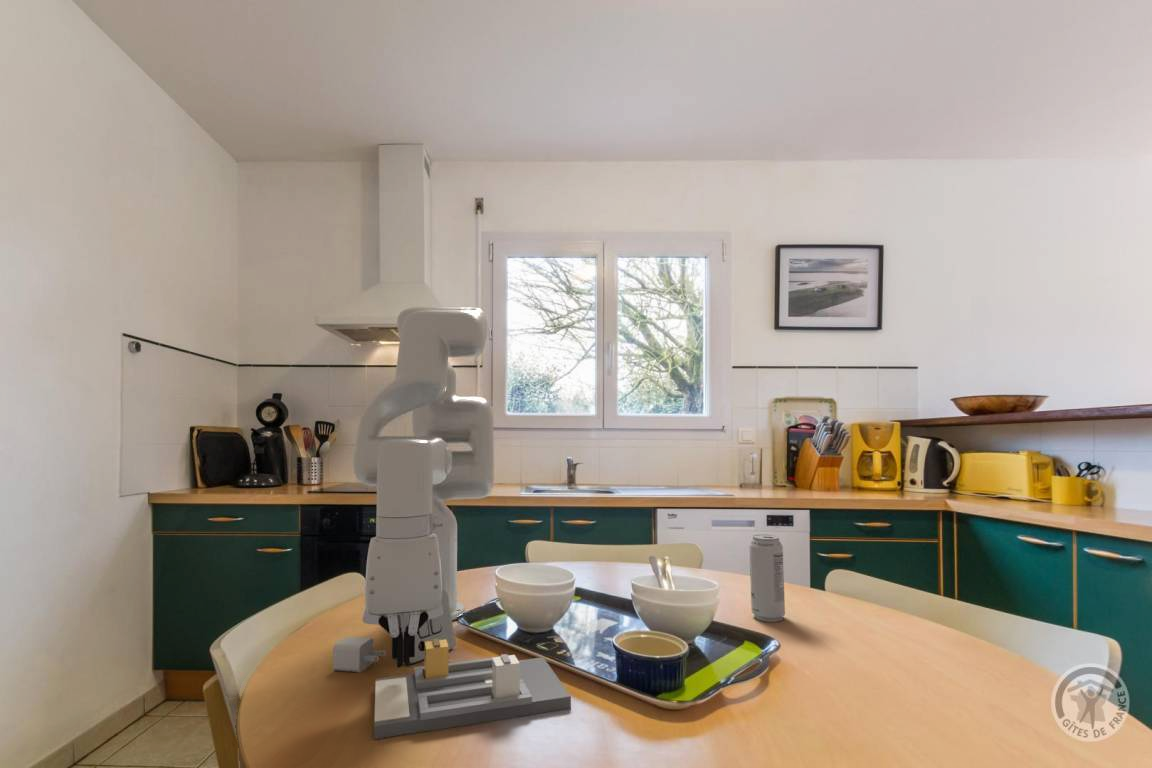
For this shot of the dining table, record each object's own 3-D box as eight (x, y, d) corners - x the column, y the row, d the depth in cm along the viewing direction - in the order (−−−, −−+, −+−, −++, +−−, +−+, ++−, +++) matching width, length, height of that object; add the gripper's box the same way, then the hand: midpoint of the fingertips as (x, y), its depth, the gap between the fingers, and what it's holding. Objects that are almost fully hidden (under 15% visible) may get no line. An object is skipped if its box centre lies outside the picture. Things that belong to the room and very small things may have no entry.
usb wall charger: (348, 661, 94) (348, 635, 94) (388, 664, 93) (389, 637, 93) (332, 671, 90) (333, 644, 90) (374, 675, 89) (375, 647, 89)
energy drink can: (757, 610, 117) (755, 532, 119) (789, 616, 114) (786, 535, 115) (747, 619, 113) (744, 537, 114) (779, 624, 109) (776, 540, 110)
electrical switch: (409, 666, 92) (406, 603, 93) (389, 662, 95) (387, 601, 96) (457, 648, 99) (454, 590, 100) (437, 645, 102) (434, 588, 104)
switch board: (375, 689, 84) (375, 672, 84) (542, 666, 91) (542, 651, 91) (374, 740, 70) (374, 720, 70) (571, 709, 77) (571, 690, 77)
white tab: (492, 693, 78) (492, 655, 79) (514, 689, 79) (514, 652, 80) (496, 703, 76) (496, 663, 76) (519, 699, 77) (519, 660, 77)
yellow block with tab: (424, 674, 85) (424, 639, 85) (446, 671, 86) (446, 637, 86) (425, 683, 82) (426, 646, 82) (448, 680, 83) (448, 644, 83)
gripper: (456, 520, 90) (455, 647, 88) (349, 526, 85) (346, 660, 84) (462, 528, 82) (461, 666, 81) (345, 535, 78) (342, 681, 77)
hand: (403, 663), depth 82 cm, fingers closed
